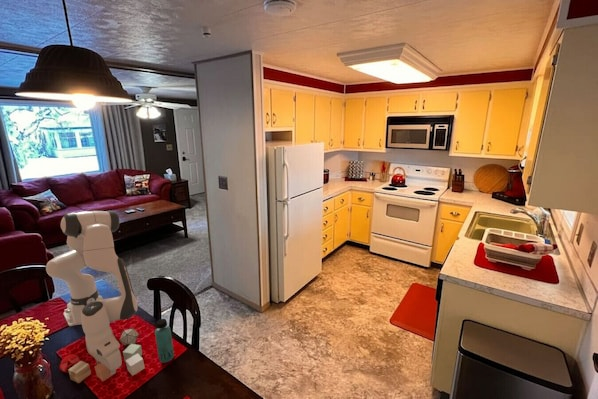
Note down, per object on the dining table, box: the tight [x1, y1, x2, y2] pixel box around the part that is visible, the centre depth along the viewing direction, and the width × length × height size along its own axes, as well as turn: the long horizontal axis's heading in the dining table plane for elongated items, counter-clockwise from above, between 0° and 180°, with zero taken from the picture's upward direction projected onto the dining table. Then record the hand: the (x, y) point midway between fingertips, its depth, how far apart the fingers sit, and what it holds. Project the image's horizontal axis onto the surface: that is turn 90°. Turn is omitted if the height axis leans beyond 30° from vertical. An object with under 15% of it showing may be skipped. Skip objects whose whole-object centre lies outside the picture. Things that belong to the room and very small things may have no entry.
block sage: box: [122, 344, 143, 362], centre depth 131 cm, size 5×5×5 cm
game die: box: [117, 326, 141, 348], centre depth 138 cm, size 9×8×10 cm
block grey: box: [125, 353, 146, 377], centre depth 125 cm, size 5×5×5 cm
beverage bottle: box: [154, 318, 175, 363], centre depth 127 cm, size 6×7×20 cm
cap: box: [59, 354, 81, 373], centre depth 126 cm, size 8×6×6 cm
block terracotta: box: [94, 363, 113, 382], centre depth 122 cm, size 5×5×5 cm
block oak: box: [67, 360, 92, 384], centre depth 121 cm, size 5×5×5 cm
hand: (106, 368), depth 122 cm, fingers open, 8 cm apart
